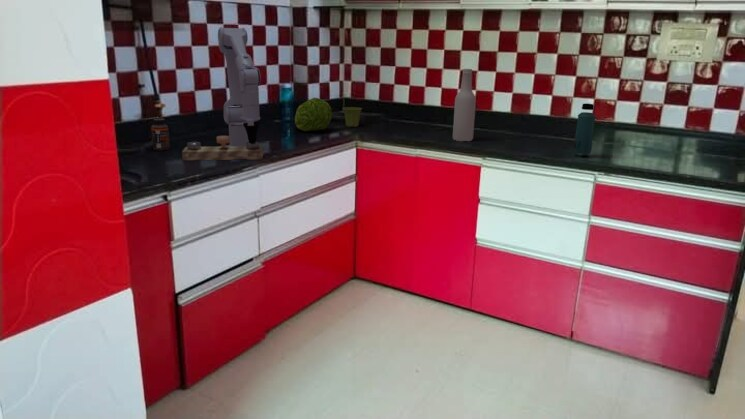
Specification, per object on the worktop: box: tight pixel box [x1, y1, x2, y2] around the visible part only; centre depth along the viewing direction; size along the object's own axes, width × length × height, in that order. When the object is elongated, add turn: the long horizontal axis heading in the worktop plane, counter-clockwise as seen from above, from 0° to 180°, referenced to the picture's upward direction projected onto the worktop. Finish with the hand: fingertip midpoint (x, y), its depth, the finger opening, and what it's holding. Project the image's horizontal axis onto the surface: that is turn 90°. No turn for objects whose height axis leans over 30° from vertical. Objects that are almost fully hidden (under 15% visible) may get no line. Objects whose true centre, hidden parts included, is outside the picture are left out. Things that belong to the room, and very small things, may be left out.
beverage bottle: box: [572, 102, 596, 155], centre depth 212 cm, size 6×7×20 cm
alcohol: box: [452, 68, 477, 142], centre depth 240 cm, size 9×9×30 cm
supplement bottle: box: [150, 118, 171, 151], centre depth 208 cm, size 6×6×11 cm
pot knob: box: [216, 135, 230, 148], centre depth 198 cm, size 4×4×4 cm
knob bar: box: [181, 145, 264, 161], centre depth 199 cm, size 27×9×3 cm, turn 100°
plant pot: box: [342, 106, 363, 128], centre depth 274 cm, size 9×9×9 cm
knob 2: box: [246, 141, 260, 150], centre depth 200 cm, size 4×4×4 cm
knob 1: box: [187, 141, 202, 150], centre depth 197 cm, size 4×4×4 cm
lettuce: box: [294, 97, 333, 132], centre depth 258 cm, size 15×25×16 cm
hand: (252, 143), depth 199 cm, fingers closed, pressing on knob 2
